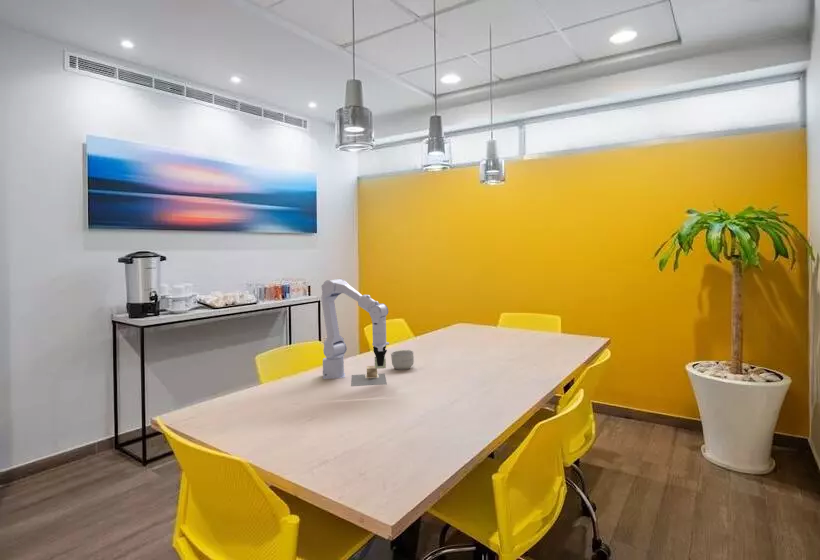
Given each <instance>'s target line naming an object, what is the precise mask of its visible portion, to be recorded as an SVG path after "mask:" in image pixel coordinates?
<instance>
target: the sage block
mask: <svg viewBox="0 0 820 560" xmlns="http://www.w3.org/2000/svg"><path fill="white" fill-rule="evenodd" d="M386 361H387V360H386V356H385V357H384V363H383V366H378V365H377V359H376V356H374V366H375V369H377V370H378V369H386V368H387V367H386V365H387V363H386Z"/></svg>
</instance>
